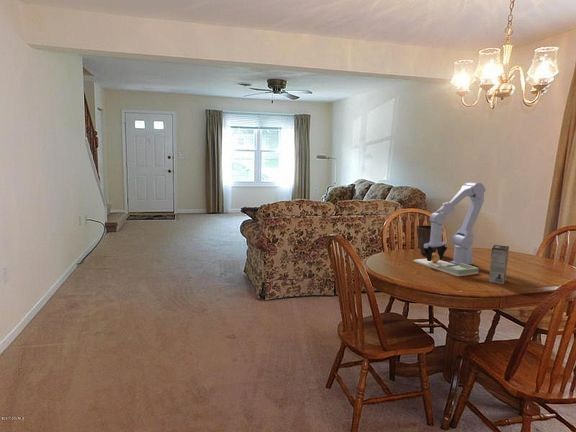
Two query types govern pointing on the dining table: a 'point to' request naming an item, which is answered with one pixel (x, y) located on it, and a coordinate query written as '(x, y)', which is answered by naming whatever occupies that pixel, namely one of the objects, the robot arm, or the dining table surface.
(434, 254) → the ball
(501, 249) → the coffee box
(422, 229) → the plant pot
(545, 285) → the dining table surface
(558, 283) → the dining table surface
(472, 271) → the board
